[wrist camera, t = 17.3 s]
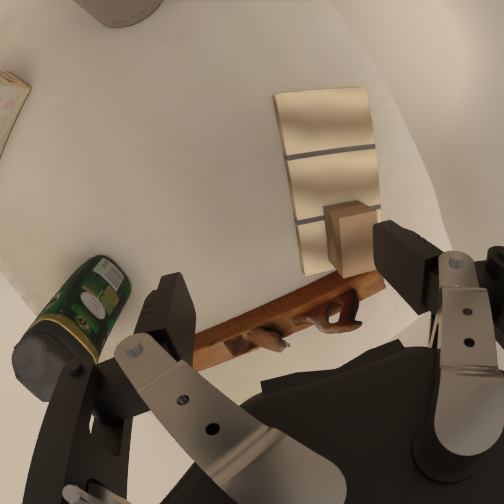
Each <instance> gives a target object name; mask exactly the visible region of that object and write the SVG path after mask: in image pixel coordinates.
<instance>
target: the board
mask: <svg viewBox="0 0 504 504" xmlns="http://www.w3.org/2000/svg"><path fill="white" fill-rule="evenodd" d="M273 100H274V104H275V109H276V114H277V119H278V125H279V130H280V135H281V140H282V146H283V151H284V157H285V162H286V168H287V174H288V180H289V186H290V192H291V198H292V204H293V211H294V217H295V224H296V230H297V237H298V244H299V251H300V259H301V266H302V272H303V274H304V275H305V276H309V275H313V274H317V273H321V272H325V271H329V270H334V269H335V268H334V266H333V265H332V264H331V263H330V261H329V259H328V248H327V238H326V228H325V219H324V211H323V206H328V205H333V204H338V203H344V202H349V201H354V200H358V201H360V202H362V203H364V204H366V205H368V206H370V207H371V208H373V209H375V210H377V222H378V223H379V222H381V208H380V191H379V179H378V168H377V158H376V149H375V141H374V134H373V127H372V120H371V114H370V108H369V102H368V96H367V91H366V87H356V88H333V89H319V90H308V91H298V92H289V93H281V94H275V95H274V96H273Z"/></svg>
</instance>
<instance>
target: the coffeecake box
mask: <svg viewBox="0 0 504 504" xmlns="http://www.w3.org/2000/svg"><path fill="white" fill-rule="evenodd" d="M30 90H31V88H30V87H29V86H28V85H26V84H25V83H24V82H22V81H21V80H20V79H18V78H17V77H15V76H14V75H12V74H11V73H9V72H8V71H2V70H0V155H1V153H2V150H3V148H4V145H5V142H6V140H7V137H8V135H9V133H10V130H11V128H12V126H13V124H14V122H15V119H16V117H17V115H18V113H19V111H20V109H21V107H22V105H23V103H24V101H25V99H26V97H27V95H28V93H29V91H30Z"/></svg>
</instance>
